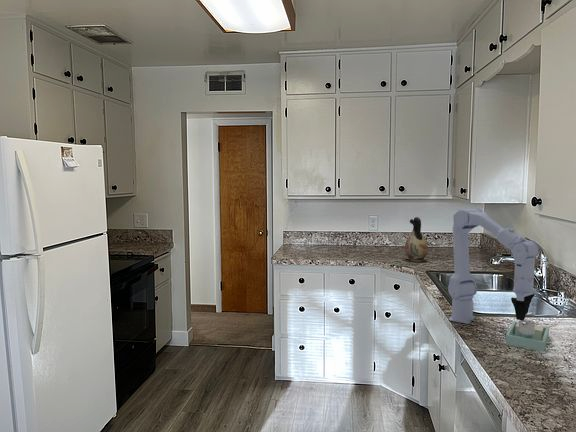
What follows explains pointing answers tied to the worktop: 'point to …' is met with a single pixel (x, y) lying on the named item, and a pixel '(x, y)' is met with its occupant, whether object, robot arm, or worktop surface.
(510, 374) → the worktop surface
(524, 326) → the tin can
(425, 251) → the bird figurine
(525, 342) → the tote
